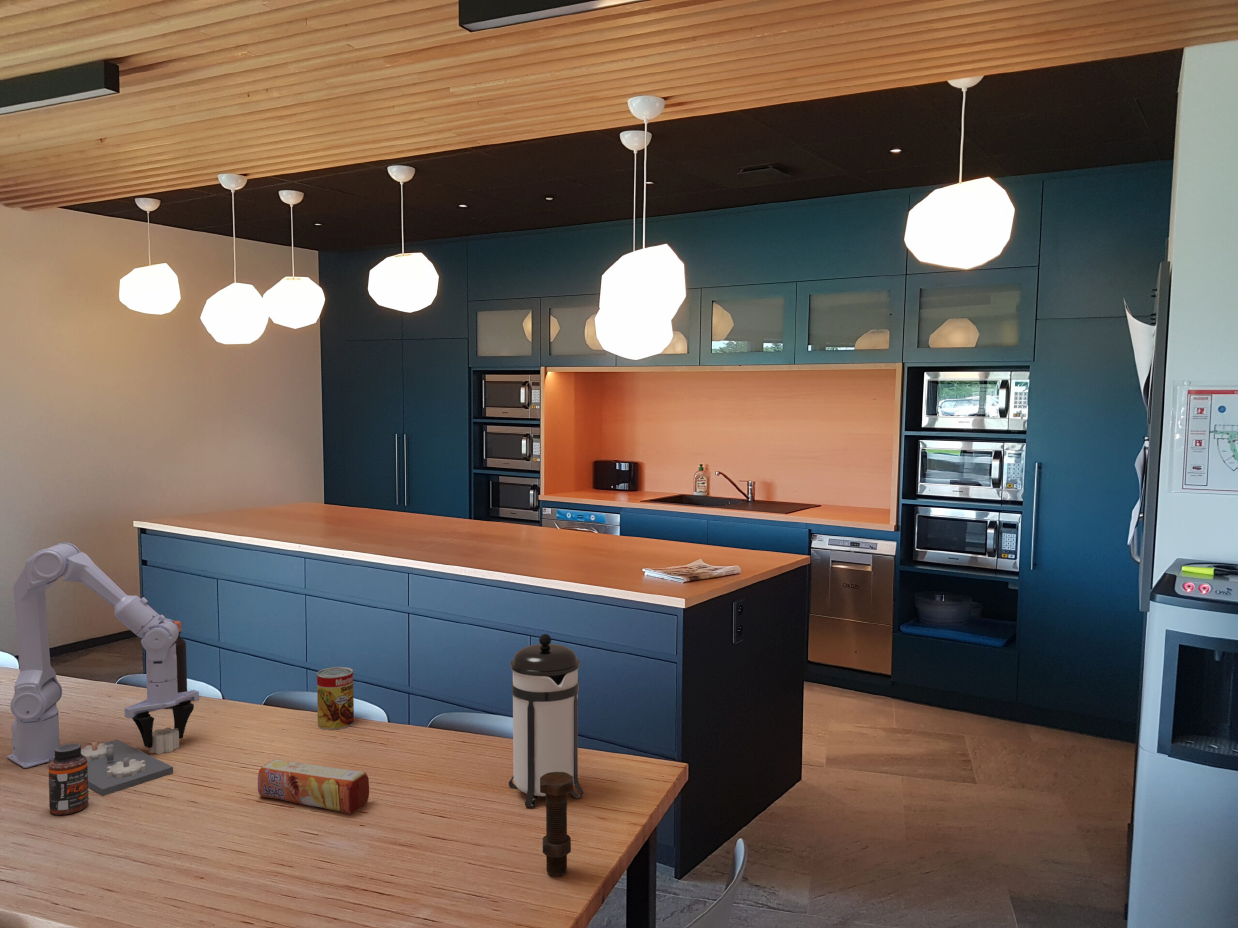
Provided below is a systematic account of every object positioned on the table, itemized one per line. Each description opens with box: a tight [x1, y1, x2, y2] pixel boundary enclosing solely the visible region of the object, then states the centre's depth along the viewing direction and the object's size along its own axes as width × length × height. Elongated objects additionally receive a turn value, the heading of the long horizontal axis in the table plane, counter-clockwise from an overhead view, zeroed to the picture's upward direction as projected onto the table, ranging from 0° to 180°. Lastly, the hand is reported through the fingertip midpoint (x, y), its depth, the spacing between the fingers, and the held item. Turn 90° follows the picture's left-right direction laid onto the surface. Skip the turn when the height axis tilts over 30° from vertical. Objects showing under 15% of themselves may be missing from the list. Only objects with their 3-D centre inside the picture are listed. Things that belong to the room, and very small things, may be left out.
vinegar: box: [166, 620, 188, 709], centre depth 214 cm, size 7×7×20 cm
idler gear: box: [148, 727, 180, 755], centre depth 186 cm, size 6×6×4 cm
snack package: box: [257, 758, 370, 815], centre depth 161 cm, size 21×7×7 cm, turn 69°
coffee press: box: [508, 633, 585, 809], centre depth 165 cm, size 17×16×30 cm
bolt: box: [540, 772, 574, 878], centre depth 136 cm, size 6×5×15 cm
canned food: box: [316, 666, 355, 731], centre depth 201 cm, size 8×8×12 cm
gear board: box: [48, 739, 174, 796], centre depth 176 cm, size 24×13×5 cm, turn 53°
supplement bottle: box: [48, 742, 89, 816], centre depth 158 cm, size 6×6×11 cm
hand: (163, 742), depth 186 cm, fingers closed on idler gear, 6 cm apart
